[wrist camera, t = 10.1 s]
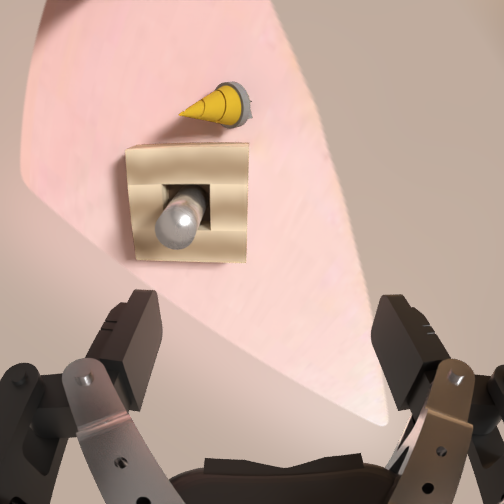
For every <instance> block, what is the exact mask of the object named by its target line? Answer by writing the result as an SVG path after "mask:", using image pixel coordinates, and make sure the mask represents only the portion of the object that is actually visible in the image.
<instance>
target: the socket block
mask: <svg viewBox="0 0 504 504" xmlns="http://www.w3.org/2000/svg"><path fill="white" fill-rule="evenodd" d="M125 157H126V172H127V184H128V195H129V205H130V215H131V224H132V232H133V240H134V247H135V254H136V260H150V261H184V262H220V263H246V251H247V208H248V166H249V143H232V142H204V143H165V144H144V145H135V146H133V147H131V148H128V149H126V150H125ZM188 184H195V185H198V186H200V187H202V188H203V189H204V190H205V191H206V193H207V196H208V205H207V207H206V210H205V212H204V215H203V217H202V220H201V222H200V225H199V227H198V230H197V232H196V235H195V237H194V240H193V241H192V243H191V244H190V245H189V246H188V247H186V248H184V249H180V250H173V249H170V248H167V247H165V246H164V245H162V244H161V243H160V241H159V240H158V239H157V237H156V234H155V224H156V221H157V220H158V218H159V217H160V215H161V214H162V213H163V211H164V210H165V209H166V207H167V206H168V205H169V203H170V202H171V201H172V199H173V198H174V197H175V195H176V194H177V193H178V191H179V190H180V189H181V188H182V187H183V186H185V185H188Z"/></svg>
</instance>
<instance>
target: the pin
mask: <svg viewBox="0 0 504 504" xmlns="http://www.w3.org/2000/svg"><path fill="white" fill-rule="evenodd" d="M207 205H208V196H207V193H206V191H205V190H204V189H203V188H202V187H200V186H198V185H195V184H188V185H185V186H183V187H182V188H181V189H180V190H179V191H178V193H177V194H176V195H175V197H174V198H173V199H172V201H171V202H170V203H169V205H168V206H167V207H166V209H165V210H164V211H163V213H162V214H161V215H160V217H159V218H158V220H157V221H156V224H155V234H156V237H157V239H158V240H159V241H160V243H161V244H162V245H164V246H165V247H167V248H170V249H173V250H180V249H184V248H186V247H188V246H189V245H190V244H191V243H192V241H193V240H194V237H195V235H196V232H197V230H198V227H199V225H200V222H201V220H202V217H203V215H204V212H205V210H206V207H207Z"/></svg>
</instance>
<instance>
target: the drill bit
mask: <svg viewBox="0 0 504 504" xmlns="http://www.w3.org/2000/svg"><path fill="white" fill-rule="evenodd" d="M250 102H252V101H250V100H249V96H248V94H247V92H246V90H245V89H244V87H243V86H242V85H240V84H239V83H237V82H225V83H221V84H220V85H218V86H217V88H216V89H215V91H214V92H212V93H210V94H209V95H207V96H206V97H204V98H202V99H201V100H199V101H198V102H196V103H195V104H193V105H192V106H190V107H189V108H187V109H186V110H185V111H183V112H181V113H180V114H179V116H184V117H190V118H195V119H200V120H205V121H210V122H215V123H220V124H221V125H222V126H224V127H226V128H236V127H240V126H242V125H244V124H245V122H246V121H247V119H250V118H252V114H251V110H250Z"/></svg>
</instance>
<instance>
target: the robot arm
mask: <svg viewBox="0 0 504 504" xmlns="http://www.w3.org/2000/svg"><path fill="white" fill-rule="evenodd" d="M161 340H162V321H161V315H160V310H159V303H158V297H157V293H156V291H155V290H134V291H133V293H132V295H131V296H130V298H129V300H128V302H127V303H122V302H121V303H119V304H118V305H117V306H116V307H114V308H113V309H112V310H111V311H110V313H109V314H108V316H107V318H106V320H105V322H104V324H103V325H102V327H101V330H99V332H98V334H97V336H96V338H95V340H94V341H93V343H92V345H91V347H90V349H89V351H88V353H87V355H86V357H85V358H82V359H78V360H76V361H74V362H72V363H70V364H69V365H68V366H67V367H66V368H65V370H64V371H63V373H62V374H52V375H40V374H39V372H38V370H37V369H36V367H35V366H33V365H32V364H29V363H19V364H16V365H14V366H12V367H11V368H9V369H8V370H7V371H6V372H5V374H4V375H3V377H2V379H1V380H0V504H50V500H51V497H52V492H53V489H54V485H55V482H56V478H57V474H58V471H59V467H60V464H61V461H62V457H63V454H64V451H65V447H66V444H67V441H68V438H70V437H77V438H78V441H79V444H80V446H81V449H82V452H83V454H84V457H85V459H86V461H87V464H88V466H89V468H90V471H91V473H92V475H93V477H94V480H95V482H96V484H97V486H98V488H99V490H100V492H101V495H102V497H103V499H104V501H105V503H106V504H452V503H453V500H454V497H455V494H456V491H457V488H458V485H459V482H460V479H461V475H462V472H463V468H464V464H465V461H466V457H467V454H468V456H469V459H470V462H471V465H472V468H473V471H474V474H475V477H476V480H477V484H478V487H479V490H480V493H481V497H482V500H483V504H504V442H503V439H502V437H501V435H500V432H499V430H498V428H497V424H498V423H499V422H500V421H501V419H502V420H503V422H504V365H500V366H498V367H497V368H496V369H495V371H494V372H493V374H492V376H484V375H475V374H474V372H473V370H472V369H471V367H469V366H468V365H467V364H466V363H464V362H463V361H460V360H457V359H451V357H450V356H449V354H448V352H447V351H446V349H445V347H444V346H443V344H442V343H441V341H440V339H439V338H438V336H437V335H436V334H435V331H434V330H433V328H432V327H431V326H430V324H429V322H428V321H427V319H426V317H425V316H424V315H423V314H422V313H420V312H419V311H418V310H417V309H416V308H414V307H411V306H410V305H409V303H408V302H407V300H406V299H405V297H404V296H403V295H401V294H399V295H383V296H382V297H381V298H380V301H379V305H378V309H377V312H376V315H375V319H374V322H373V326H372V329H371V341H372V345H373V347H374V350H375V352H376V355H377V357H378V360H379V362H380V365H381V367H382V370H383V372H384V375H385V377H386V380H387V382H388V385H389V388H390V390H391V393H392V395H393V398H394V401H395V403H396V406H397V409H398V411H401V410H406V409H410V410H411V412H412V414H411V416H410V417H409V419H408V422H407V424H406V426H405V428H404V431H403V433H402V435H401V438H400V440H399V442H398V444H397V446H396V448H395V451H394V453H393V455H392V457H391V459H390V460H389V462H388V464H387V465H386V467H385V468H384V467H381V466H377V465H373V464H368V463H363V460H362V456H361V453H358V454H350V455H341V456H332V457H324V458H321V459H318V460H314V461H311V462H307V463H304V464H301V465H297V466H293V467H289V468H280V467H275V466H270V465H264V464H260V463H256V462H251V461H247V460H231V459H211V458H205V462H204V468H198V469H194V470H190V471H186V472H183V473H181V474H178V475H176V476H174V477H172V478H171V479H169V480H168V478H167V477H166V475H165V474H164V472H163V470H162V469H161V467H160V466H159V464H158V463H157V461H156V460H155V458H154V456H153V455H152V453H151V451H150V450H149V448H148V446H147V445H146V443H145V442H144V440H143V438H142V436H141V434H140V433H139V431H138V429H137V428H136V426H135V424H134V422H133V420H132V418H131V417H130V415H129V413H128V412H129V410H133V411H140V409H141V406H142V403H143V399H144V396H145V392H146V389H147V386H148V382H149V379H150V376H151V373H152V369H153V366H154V363H155V359H156V356H157V353H158V350H159V347H160V344H161Z"/></svg>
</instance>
